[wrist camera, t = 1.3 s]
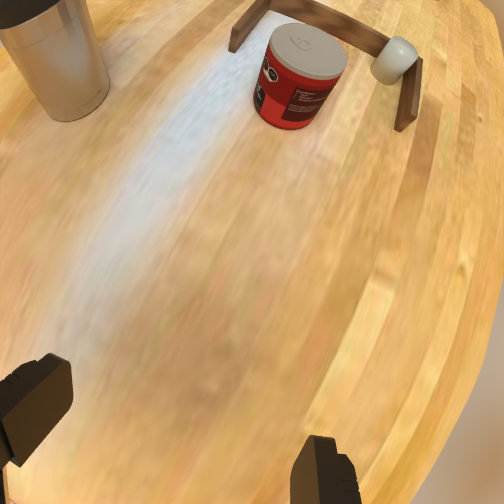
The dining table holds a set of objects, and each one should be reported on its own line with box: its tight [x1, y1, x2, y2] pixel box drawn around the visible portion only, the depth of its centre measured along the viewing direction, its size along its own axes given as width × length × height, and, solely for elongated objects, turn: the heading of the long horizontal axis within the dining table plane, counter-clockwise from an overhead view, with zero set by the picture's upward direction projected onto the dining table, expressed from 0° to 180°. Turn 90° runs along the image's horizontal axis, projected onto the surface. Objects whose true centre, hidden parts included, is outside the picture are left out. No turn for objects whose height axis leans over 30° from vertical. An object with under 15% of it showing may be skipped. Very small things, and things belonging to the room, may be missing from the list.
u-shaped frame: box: [228, 0, 423, 132], centre depth 37 cm, size 26×14×4 cm, turn 67°
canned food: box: [254, 23, 347, 130], centre depth 31 cm, size 8×8×11 cm
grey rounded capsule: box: [370, 36, 418, 85], centre depth 37 cm, size 5×5×7 cm
